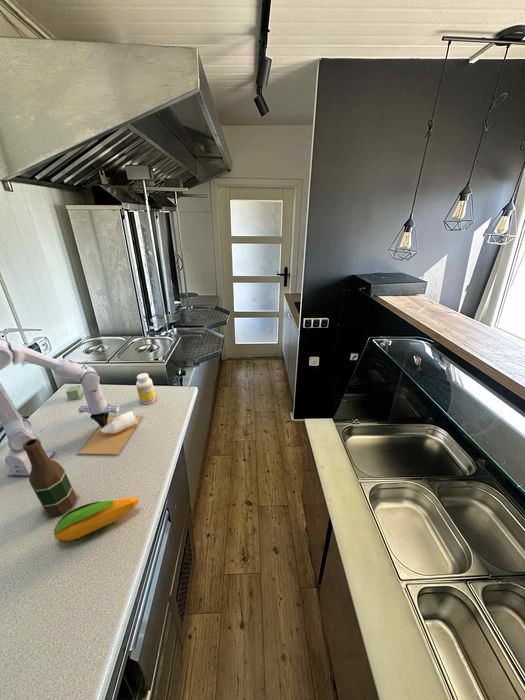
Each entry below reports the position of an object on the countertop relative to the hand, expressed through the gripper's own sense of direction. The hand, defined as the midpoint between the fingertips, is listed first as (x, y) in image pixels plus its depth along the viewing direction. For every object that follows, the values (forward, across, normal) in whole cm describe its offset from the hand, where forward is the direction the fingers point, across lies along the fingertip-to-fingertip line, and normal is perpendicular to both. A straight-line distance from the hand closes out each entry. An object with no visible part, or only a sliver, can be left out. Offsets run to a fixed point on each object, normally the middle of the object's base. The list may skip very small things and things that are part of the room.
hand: (104, 426), depth 110 cm
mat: (+2, -4, +2) cm, 5 cm away
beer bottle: (+2, -4, +31) cm, 31 cm away
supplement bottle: (+2, -9, -20) cm, 22 cm away
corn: (+2, -19, +36) cm, 41 cm away
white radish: (+2, -5, 0) cm, 6 cm away
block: (+2, +26, -22) cm, 34 cm away
